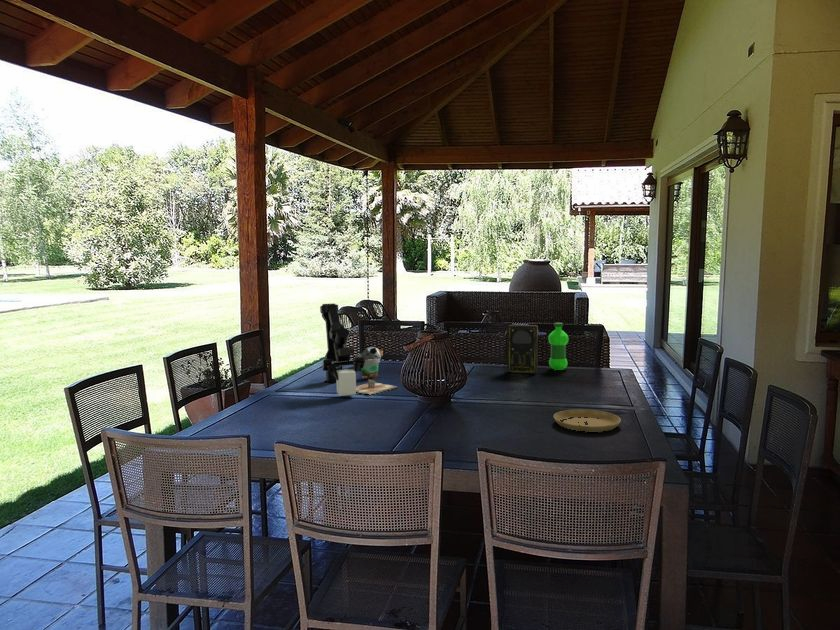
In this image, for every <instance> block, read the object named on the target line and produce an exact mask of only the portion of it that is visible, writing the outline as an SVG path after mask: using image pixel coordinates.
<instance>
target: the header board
mask: <svg viewBox="0 0 840 630" xmlns="http://www.w3.org/2000/svg"><path fill="white" fill-rule="evenodd" d="M394 388H397V389H398V386H397V385H392V384H384V383H380V382H376V381H375V380H374V379H367V383H363V384H361V385H356V392H358V393H357V394H359V393H363V394H362V395H364V394H369V395H371V394H375V395H377V394H376V393H379V394H381V393H380V392H383V391H386V392H388V391H387V390H390V391H392V390H391V389H394ZM394 390H395V389H394ZM383 393H384V392H383ZM369 395H368V396H369ZM371 396H372V395H371Z"/></svg>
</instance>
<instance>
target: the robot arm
mask: <svg viewBox="0 0 840 630" xmlns="http://www.w3.org/2000/svg"><path fill="white" fill-rule="evenodd" d="M319 312H320V314H321V318H322V320H324V322H325V332H326V345H327V346H326V347H327V352H326V353H325V354H324V359H323V360H322V365H321V366H322V367H321V368H322V371H323V372H326V373H325V374H326V375H325V376H326V380H324V381H327V382H326V383H328V382H331V383H330V384H335V383H334V382H336V379H337V381H338V374H337V371H336V370H343V367H344V366H345V367H346V366H353V368H352V369H353V370H354V371H355V372H356V374H357V373H358V372H357V371H358V370H361V368H363V367H364V363H365V358H364V357H355V356H354V358H355V360H353V359H351V355H354V354H355V348H354V346H353V345H352V346H349V347H348V345H347V344H348V342H349V336H350V331H349V330H348V329H347V328H345V326H344V325H343V324H342V323H341V320H340V316H339V304H336V303H323V304H322V305H320V307H319ZM350 359H351V360H350Z"/></svg>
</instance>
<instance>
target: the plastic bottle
mask: <svg viewBox="0 0 840 630" xmlns="http://www.w3.org/2000/svg"><path fill="white" fill-rule="evenodd" d="M553 326H554V328H555V329H554V330H553V331H551V332H550V333H549V334H548V336H547V338H548V343H549V344H550V358H549V360H548V365H549V367H550V368H551V369H552V370H553V369H554V370H553V371H556V370H562V371H564V370H565V369H566V368H567V367H568V364H569V363H568V359H567V344H568V343H569V340H570V339H569V336H568V334H567V333H566V332H565V331H564V330H563V329H562V328H564V327H563V326H564V323H563V322H554V325H553Z"/></svg>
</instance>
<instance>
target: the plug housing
mask: <svg viewBox="0 0 840 630" xmlns="http://www.w3.org/2000/svg"><path fill="white" fill-rule="evenodd" d="M336 371H337V374H338V381H337V379H336V383H335V384H336V393H337V394H338V395H339V397H341V396H351V395H352V396H353V395H357V393H356V386H357V373H356V372H355V371H354V370H353V368H349V369H348V368H347V369H342V370H336Z"/></svg>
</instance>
